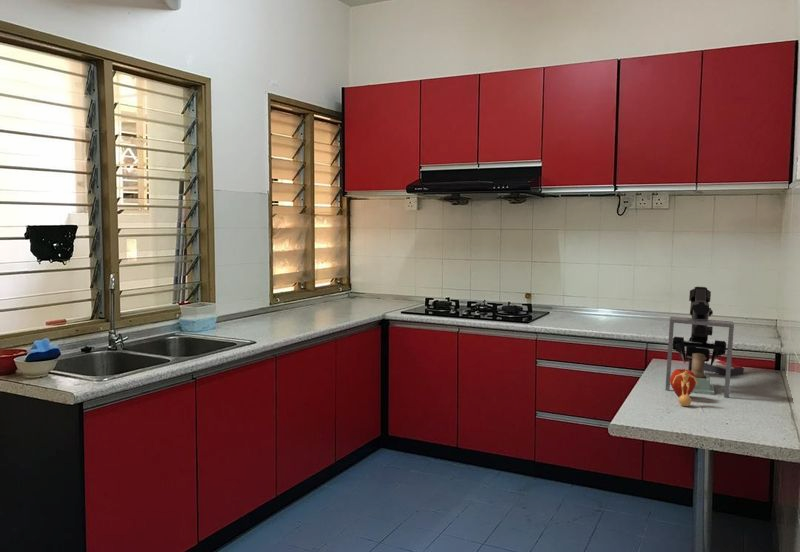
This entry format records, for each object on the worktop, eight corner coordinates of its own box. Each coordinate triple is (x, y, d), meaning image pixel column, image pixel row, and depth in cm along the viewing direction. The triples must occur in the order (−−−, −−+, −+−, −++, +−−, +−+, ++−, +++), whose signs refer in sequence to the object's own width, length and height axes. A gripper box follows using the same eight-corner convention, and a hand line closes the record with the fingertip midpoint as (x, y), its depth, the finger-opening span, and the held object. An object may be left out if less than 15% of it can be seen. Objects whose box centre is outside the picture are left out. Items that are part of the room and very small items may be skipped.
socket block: (679, 383, 253) (680, 371, 253) (712, 387, 248) (713, 374, 248) (678, 390, 242) (679, 377, 242) (714, 394, 237) (715, 381, 237)
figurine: (672, 406, 221) (674, 372, 220) (670, 401, 226) (672, 368, 225) (698, 408, 218) (700, 374, 217) (696, 404, 224) (698, 370, 223)
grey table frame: (666, 385, 250) (670, 316, 247) (727, 392, 241) (732, 321, 239) (665, 390, 242) (669, 319, 240) (728, 398, 233) (733, 324, 231)
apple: (667, 398, 230) (669, 369, 229) (670, 393, 237) (671, 365, 237) (694, 402, 226) (696, 372, 225) (695, 397, 234) (697, 368, 233)
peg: (693, 384, 248) (696, 352, 247) (705, 386, 245) (707, 354, 244) (687, 385, 246) (690, 353, 245) (699, 388, 242) (701, 355, 241)
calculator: (727, 368, 269) (697, 359, 282) (726, 378, 269) (696, 368, 283) (744, 366, 273) (714, 357, 287) (743, 376, 274) (713, 366, 287)
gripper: (674, 316, 251) (672, 348, 242) (727, 320, 243) (727, 354, 234) (673, 333, 259) (671, 365, 250) (725, 337, 251) (724, 370, 242)
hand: (698, 363), depth 244 cm, fingers open, 9 cm apart
